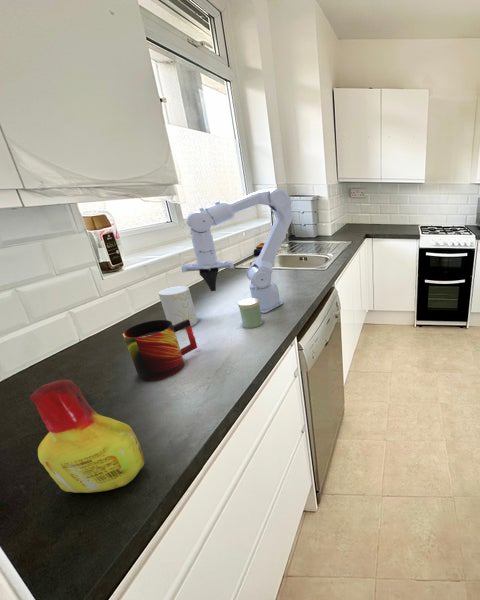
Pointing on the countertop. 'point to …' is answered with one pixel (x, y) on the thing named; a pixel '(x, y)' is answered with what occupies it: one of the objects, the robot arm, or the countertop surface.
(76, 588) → the countertop surface
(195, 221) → the robot arm
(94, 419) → the bottle
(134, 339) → the mug
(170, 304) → the white cylinder
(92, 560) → the countertop surface
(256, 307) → the tea tin
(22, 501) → the countertop surface
